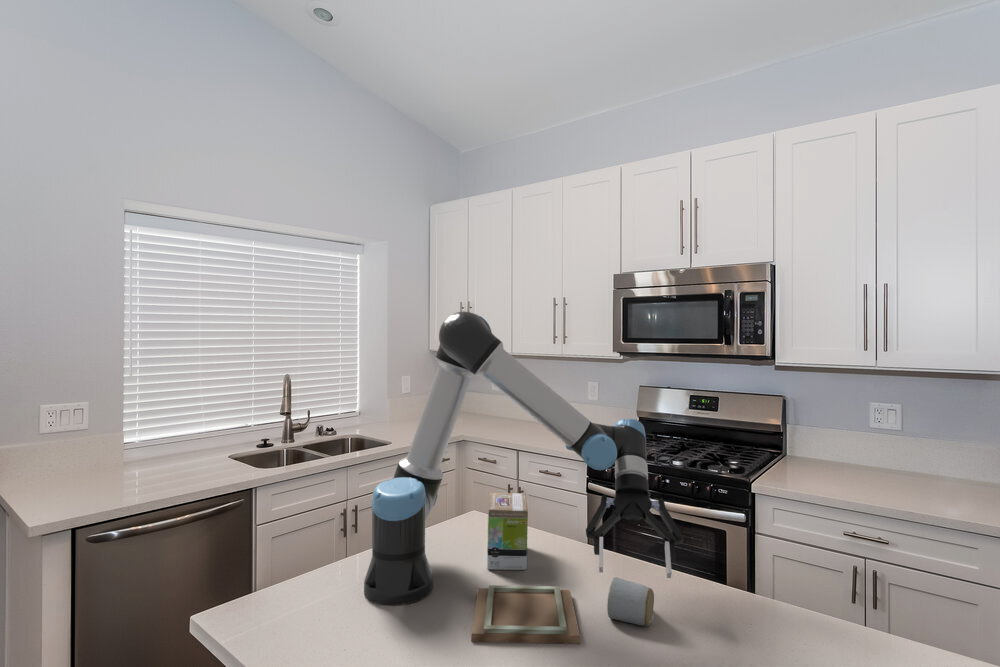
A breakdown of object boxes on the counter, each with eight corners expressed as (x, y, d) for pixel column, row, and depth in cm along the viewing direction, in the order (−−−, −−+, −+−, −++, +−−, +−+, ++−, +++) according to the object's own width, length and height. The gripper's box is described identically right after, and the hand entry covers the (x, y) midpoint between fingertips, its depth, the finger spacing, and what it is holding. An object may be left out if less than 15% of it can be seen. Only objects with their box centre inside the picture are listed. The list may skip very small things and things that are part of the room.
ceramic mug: (648, 634, 103) (649, 593, 103) (606, 624, 106) (606, 585, 106) (657, 609, 112) (657, 572, 113) (618, 601, 116) (618, 565, 116)
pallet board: (471, 641, 100) (471, 629, 100) (478, 594, 118) (478, 584, 118) (579, 643, 100) (579, 631, 100) (570, 596, 118) (570, 586, 118)
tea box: (528, 571, 130) (528, 509, 130) (486, 570, 131) (486, 509, 131) (526, 546, 145) (526, 491, 146) (488, 546, 146) (488, 491, 146)
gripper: (686, 491, 126) (696, 585, 111) (578, 485, 131) (574, 574, 116) (689, 474, 121) (700, 570, 106) (576, 469, 125) (572, 560, 111)
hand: (634, 573), depth 111 cm, fingers open, 13 cm apart
